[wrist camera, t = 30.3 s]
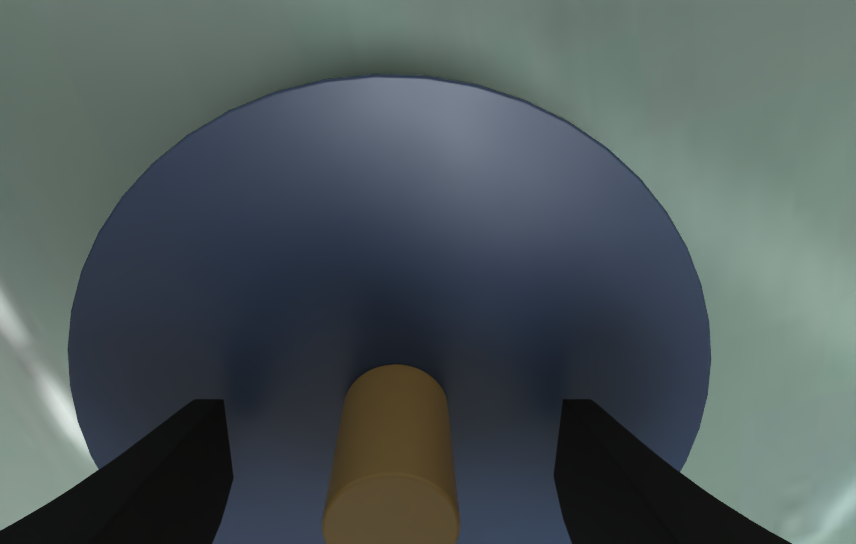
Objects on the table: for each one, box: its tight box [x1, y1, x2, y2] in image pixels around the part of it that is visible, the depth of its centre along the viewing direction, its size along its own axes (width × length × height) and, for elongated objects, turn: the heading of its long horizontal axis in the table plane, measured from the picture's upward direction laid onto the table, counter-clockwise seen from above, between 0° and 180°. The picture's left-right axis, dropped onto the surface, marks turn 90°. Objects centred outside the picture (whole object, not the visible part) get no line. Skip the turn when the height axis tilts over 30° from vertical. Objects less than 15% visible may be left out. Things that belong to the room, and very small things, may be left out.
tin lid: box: [68, 73, 711, 544], centre depth 12 cm, size 15×15×5 cm
